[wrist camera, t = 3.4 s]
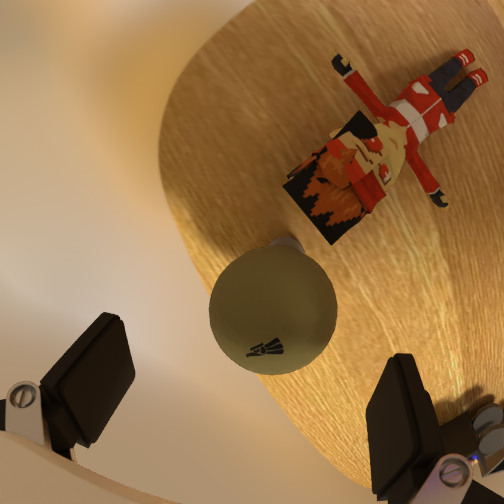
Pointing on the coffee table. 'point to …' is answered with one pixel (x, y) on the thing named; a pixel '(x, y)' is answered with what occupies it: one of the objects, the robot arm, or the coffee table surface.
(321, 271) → the light bulb
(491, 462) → the open box
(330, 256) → the coffee table surface
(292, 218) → the coffee table surface
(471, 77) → the toy
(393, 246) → the coffee table surface
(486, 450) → the character figurine
